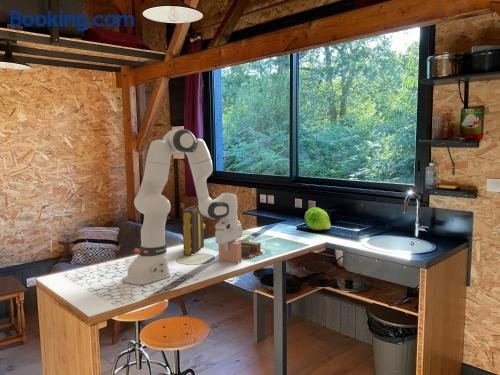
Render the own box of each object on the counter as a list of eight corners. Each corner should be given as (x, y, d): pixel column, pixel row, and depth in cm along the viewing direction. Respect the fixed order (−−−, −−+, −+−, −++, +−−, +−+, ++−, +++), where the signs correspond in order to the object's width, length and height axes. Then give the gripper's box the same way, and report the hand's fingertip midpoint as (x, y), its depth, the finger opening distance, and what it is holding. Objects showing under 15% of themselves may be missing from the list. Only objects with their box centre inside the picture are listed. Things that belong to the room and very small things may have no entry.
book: (195, 255, 227) (194, 211, 225) (180, 255, 229) (179, 210, 227) (207, 245, 249) (206, 205, 246) (193, 245, 251) (192, 204, 248)
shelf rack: (250, 258, 220) (250, 247, 219) (226, 254, 228) (226, 244, 228) (262, 253, 230) (262, 242, 230) (238, 249, 239) (238, 239, 238)
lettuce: (329, 235, 280) (339, 215, 284) (304, 220, 280) (314, 200, 284) (321, 238, 297) (330, 219, 301) (297, 223, 296) (307, 205, 301)
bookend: (249, 255, 222) (248, 246, 221) (230, 253, 228) (230, 244, 228) (250, 255, 223) (249, 246, 222) (231, 252, 229) (231, 243, 228)
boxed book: (237, 262, 213) (237, 244, 212) (218, 259, 219) (218, 241, 218) (241, 261, 216) (241, 242, 215) (222, 258, 222) (222, 239, 221)
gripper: (235, 219, 226) (235, 244, 227) (212, 226, 208) (213, 252, 210) (245, 220, 222) (245, 245, 224) (223, 227, 205) (223, 254, 207)
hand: (229, 249), depth 217 cm, fingers closed on boxed book, 3 cm apart
